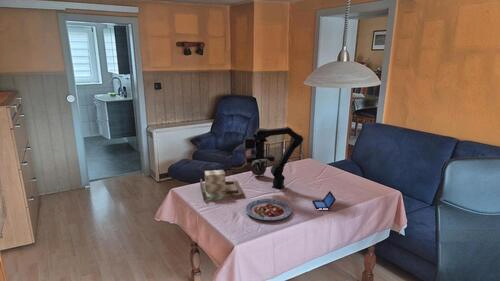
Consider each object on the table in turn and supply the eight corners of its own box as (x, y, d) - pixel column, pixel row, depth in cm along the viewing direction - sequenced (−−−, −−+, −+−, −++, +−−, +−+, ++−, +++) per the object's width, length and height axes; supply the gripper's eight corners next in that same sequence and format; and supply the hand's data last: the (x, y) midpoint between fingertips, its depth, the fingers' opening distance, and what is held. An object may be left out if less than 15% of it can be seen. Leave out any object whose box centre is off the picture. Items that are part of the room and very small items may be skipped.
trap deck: (237, 183, 220) (237, 176, 219) (244, 197, 200) (244, 188, 198) (200, 186, 214) (200, 179, 213) (203, 200, 194) (203, 192, 192)
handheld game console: (311, 201, 195) (312, 190, 193) (329, 201, 195) (330, 190, 194) (316, 211, 183) (317, 199, 181) (335, 211, 183) (336, 199, 181)
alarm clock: (266, 175, 237) (266, 154, 233) (265, 178, 232) (266, 156, 228) (251, 174, 238) (251, 153, 234) (250, 177, 233) (250, 155, 229)
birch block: (223, 185, 211) (223, 169, 208) (225, 190, 203) (225, 174, 200) (205, 187, 208) (204, 171, 205) (206, 192, 200) (205, 175, 197)
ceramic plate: (273, 198, 199) (273, 194, 198) (300, 215, 178) (301, 210, 177) (236, 208, 185) (236, 203, 184) (262, 228, 164) (262, 222, 163)
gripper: (270, 144, 216) (269, 166, 220) (242, 145, 212) (242, 168, 216) (275, 148, 206) (274, 171, 209) (246, 150, 201) (246, 173, 205)
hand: (259, 171), depth 210 cm, fingers closed
